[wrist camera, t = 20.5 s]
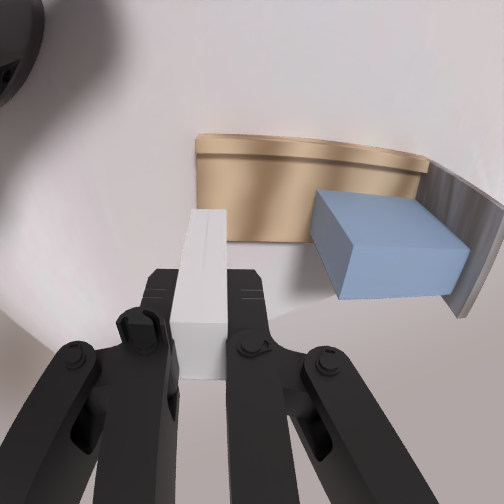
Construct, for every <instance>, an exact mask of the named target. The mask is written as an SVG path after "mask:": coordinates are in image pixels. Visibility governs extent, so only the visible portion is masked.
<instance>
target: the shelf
mask: <svg viewBox="0 0 504 504" xmlns="http://www.w3.org/2000/svg"><path fill="white" fill-rule="evenodd" d="M195 153H197V209H226V210H227V241H270V242H313V243H314V241H313V239H312V236H311V234H310V228H311V222H312V216H313V210H314V204H315V197H316V191H317V190H330V191H342V192H354V193H364V194H374V195H384V196H392V197H401V198H409V199H415V200H416V201H418V202H419V203H420V204H421V205H422V206H424V207H425V208H426V209H427V210H428V211H429V212H431V213H432V214H433V215H434V216H435V217H436V218H437V219H438V220H440V221H441V222H442V223H443V224H444V225H445V226H446V227H447V228H448V229H449V230H451V231H452V232H453V233H454V234H455V235H456V236H457V237H458V238H459V239H460V240H461V241H462V242H463V243H464V244H465V245H466V246H467V247H468V248H469V249H470V250H471V251H470V253H469V256H468V258H467V260H466V263H465V265H464V267H463V270H462V272H461V274H460V276H459V279H458V281H457V283H456V285H455V287H454V289H453V291H452V293H451V294H449V295H441V296H442V298H443V299H444V301H445V302H446V303H447V305H448V306H449V308H450V309H451V311H452V312H453V313H454V315H455V316H456V318H457V319H458V318H465V317H467V315H468V313H469V311H470V309H471V308H472V306H473V304H474V302H475V300H476V298H477V296H478V294H479V292H480V290H481V288H482V286H483V284H484V282H485V280H486V278H487V276H488V274H489V272H490V270H491V267H492V265H493V263H494V261H495V258H496V256H497V254H498V251H499V249H500V247H501V244H502V242H503V239H504V206H503V205H502V204H501V203H499V202H498V201H496V200H495V199H494V198H492V197H491V196H489V195H488V194H486V193H485V192H483V191H482V190H480V189H479V188H477V187H476V186H474V185H473V184H471V183H470V182H468V181H466V180H465V179H463V178H462V177H460V176H458V175H457V174H455V173H453V172H452V171H450V170H448V169H447V168H445V167H443V166H442V165H440V164H438V163H436V162H435V161H433V160H431V159H429V158H427V157H425V156H421V155H416V154H411V153H405V152H400V151H395V150H389V149H383V148H377V147H370V146H364V145H357V144H349V143H342V142H334V141H325V140H315V139H305V138H293V137H280V136H263V135H240V134H198V136H197V137H196V139H195Z"/></svg>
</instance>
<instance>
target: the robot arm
mask: <svg viewBox="0 0 504 504" xmlns="http://www.w3.org/2000/svg"><path fill="white" fill-rule="evenodd" d="M43 29H44V10H43V5H42V2H41V0H0V106H2V105H3V104H5V103H6V102H7V101H8V100H10V99H11V98H12V97H13V96H14V94H15V93H16V92H17V91H18V90H19V88H20V87H21V86H22V84H23V83H24V81H25V80H26V78H27V76H28V74H29V73H30V71H31V69H32V67H33V64H34V62H35V60H36V57H37V54H38V51H39V48H40V44H41V40H42V36H43ZM116 325H117V328H118V331H119V334H120V337H121V340H122V343H121V344H119V345H117V346H114V347H110V348H105V349H99V350H94V348H93V347H92V345H90V344H88V343H87V342H83V341H73V342H69V343H67V344H66V345H64V346H62V347H61V348H60V349H59V351H58V352H57V353H56V355H55V356H54V358H53V359H52V361H51V362H50V364H49V365H48V367H47V368H46V370H45V371H44V373H43V374H42V376H41V377H40V379H39V381H38V382H37V384H36V385H35V387H34V388H33V390H32V392H31V394H30V395H29V397H28V398H27V400H26V402H25V403H24V405H23V407H22V408H21V410H20V412H19V413H18V415H17V417H16V419H15V420H14V422H13V424H12V426H11V428H10V429H9V431H8V433H7V435H6V437H5V439H4V441H3V443H2V444H1V446H0V504H79V503H80V500H81V498H82V495H83V493H84V491H85V488H86V485H87V483H88V481H89V478H90V476H91V473H92V471H93V469H94V467H95V464H96V462H97V460H98V464H97V471H96V478H95V486H94V495H93V504H175V478H176V449H177V428H178V412H179V398H180V393H179V387H178V379H179V375H180V379H193V380H226V411H227V412H226V413H227V444H228V465H229V487H230V488H229V489H230V504H300V501H299V495H298V489H297V481H296V474H295V468H294V461H293V454H292V448H291V442H290V434H289V428H288V422H287V415H289V416H290V418H291V420H292V422H293V425H294V427H295V429H296V431H297V433H298V436H299V438H300V440H301V442H302V444H303V446H304V448H305V450H306V452H307V455H308V457H309V459H310V461H311V463H312V465H313V467H314V469H315V472H316V473H317V476H318V478H319V480H320V482H321V484H322V486H323V488H324V490H325V492H326V494H327V496H328V498H329V500H330V502H331V504H439V503H438V501H437V499H436V498H435V496H434V494H433V492H432V491H431V489H430V487H429V486H428V484H427V482H426V481H425V479H424V477H423V476H422V474H421V472H420V471H419V469H418V467H417V466H416V464H415V462H414V461H413V459H412V458H411V456H410V454H409V453H408V451H407V449H406V448H405V446H404V445H403V443H402V441H401V440H400V438H399V436H398V435H397V433H396V432H395V430H394V428H393V427H392V425H391V423H390V422H389V420H388V419H387V417H386V415H385V414H384V412H383V411H382V409H381V408H380V406H379V404H378V403H377V401H376V400H375V398H374V397H373V395H372V393H371V392H370V390H369V389H368V387H367V385H366V384H365V382H364V381H363V379H362V378H361V376H360V375H359V373H358V371H357V370H356V368H355V367H354V365H353V364H352V362H351V361H350V359H349V358H348V357H347V356H346V354H345V353H344V352H342V351H341V350H339V349H337V348H335V347H330V346H319V347H316V348H314V349H312V350H310V351H309V352H308V354H304V353H299V352H295V351H291V350H288V349H285V348H283V347H281V346H280V345H278V344H277V343H276V342H275V341H274V340H273V338H272V337H271V335H270V332H269V326H268V319H267V312H266V306H265V300H264V293H263V286H262V280H261V278H260V276H259V275H258V274H257V273H256V271H255V270H250V269H227V210H226V209H192V211H191V215H190V220H189V224H188V229H187V233H186V238H185V243H184V247H183V252H182V257H181V262H180V267H179V269H156V270H155V271H154V272H153V273H152V274H151V275H150V276H149V277H148V281H147V284H146V287H145V291H144V294H143V298H142V301H141V305H140V307H134V308H132V309H129V310H126V311H125V312H124V313H123V314H121V315H120V316H119V318H118V319H117V321H116Z"/></svg>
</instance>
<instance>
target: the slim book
mask: <svg viewBox="0 0 504 504" xmlns="http://www.w3.org/2000/svg"><path fill="white" fill-rule="evenodd" d="M310 234H311V236H312V239H313V241H314V243H315V245H316V248H317V250H318V252H319V254H320V257H321V259H322V261H323V264H324V266H325V268H326V271H327V273H328V275H329V278H330V280H331V282H332V285H333V287H334V290H335V292H336V294H337V297H338V299H339V300H349V299H378V298H399V297H418V296H435V295H449V294H451V293H452V291H453V289H454V287H455V285H456V283H457V281H458V279H459V276H460V274H461V272H462V270H463V267H464V265H465V263H466V260H467V258H468V256H469V253H470V251H471V250H470V249H469V248H468V247H467V246H466V245H465V244H464V243H463V242H462V241H461V240H460V239H459V238H458V237H457V236H456V235H455V234H454V233H453V232H452V231H451V230H449V229H448V228H447V227H446V226H445V225H444V224H443V223H442V222H441V221H440V220H438V219H437V218H436V217H435V216H434V215H433V214H432V213H431V212H429V211H428V210H427V209H426V208H425V207H424V206H422V205H421V204H420V203H419V202H418V201H416V200H415V199H409V198H401V197H392V196H384V195H374V194H364V193H354V192H342V191H330V190H317V191H316V197H315V204H314V210H313V216H312V222H311V228H310Z"/></svg>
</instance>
